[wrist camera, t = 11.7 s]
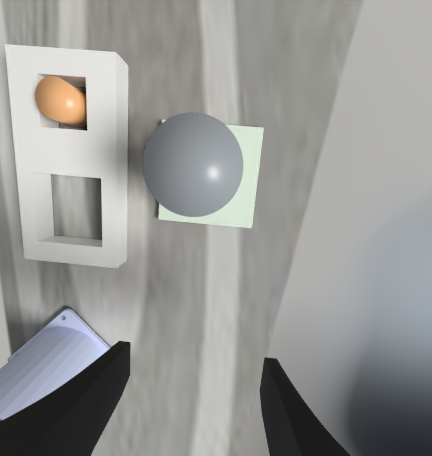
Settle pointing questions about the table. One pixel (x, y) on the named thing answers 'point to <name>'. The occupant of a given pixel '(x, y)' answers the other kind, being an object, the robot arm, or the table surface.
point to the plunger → (61, 101)
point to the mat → (245, 196)
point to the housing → (70, 150)
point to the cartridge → (193, 164)
